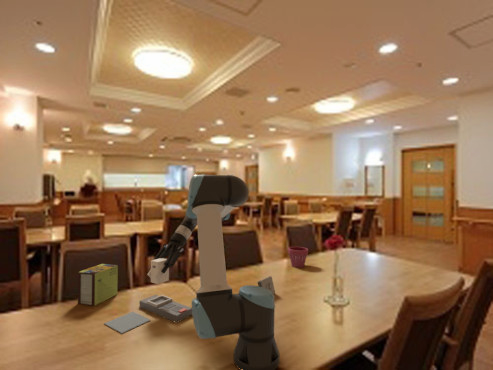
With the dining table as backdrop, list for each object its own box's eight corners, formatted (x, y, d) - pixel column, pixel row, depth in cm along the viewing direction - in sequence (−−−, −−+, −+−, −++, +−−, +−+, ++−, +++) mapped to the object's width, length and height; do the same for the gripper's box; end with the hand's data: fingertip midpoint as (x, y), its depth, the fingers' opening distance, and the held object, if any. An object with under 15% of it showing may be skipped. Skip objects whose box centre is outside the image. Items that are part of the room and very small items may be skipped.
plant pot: (310, 265, 201) (310, 247, 201) (303, 269, 189) (304, 251, 189) (292, 262, 209) (292, 245, 209) (285, 266, 197) (285, 248, 197)
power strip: (192, 314, 121) (192, 305, 121) (176, 322, 114) (176, 312, 114) (155, 300, 136) (155, 292, 136) (139, 307, 129) (139, 298, 129)
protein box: (117, 294, 144) (118, 264, 144) (94, 306, 129) (94, 273, 130) (101, 292, 147) (102, 263, 147) (77, 303, 132) (77, 271, 132)
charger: (168, 280, 129) (169, 259, 129) (157, 284, 123) (157, 262, 123) (162, 278, 131) (162, 257, 132) (150, 282, 126) (150, 260, 126)
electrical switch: (265, 299, 139) (264, 280, 140) (257, 297, 142) (256, 279, 143) (275, 293, 146) (274, 276, 147) (267, 292, 150) (266, 275, 150)
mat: (150, 320, 116) (150, 319, 116) (121, 333, 105) (121, 332, 105) (132, 312, 123) (132, 311, 123) (104, 324, 112) (104, 323, 112)
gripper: (197, 242, 135) (170, 285, 121) (173, 239, 146) (146, 278, 132) (189, 233, 131) (161, 276, 117) (165, 230, 141) (136, 269, 127)
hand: (153, 277), depth 124 cm, fingers closed on charger, 5 cm apart
